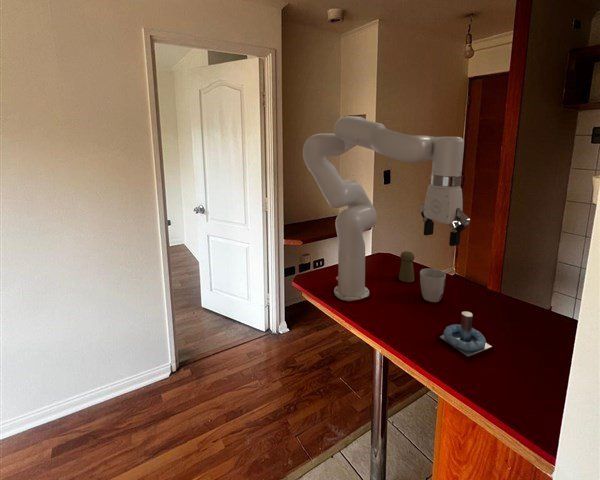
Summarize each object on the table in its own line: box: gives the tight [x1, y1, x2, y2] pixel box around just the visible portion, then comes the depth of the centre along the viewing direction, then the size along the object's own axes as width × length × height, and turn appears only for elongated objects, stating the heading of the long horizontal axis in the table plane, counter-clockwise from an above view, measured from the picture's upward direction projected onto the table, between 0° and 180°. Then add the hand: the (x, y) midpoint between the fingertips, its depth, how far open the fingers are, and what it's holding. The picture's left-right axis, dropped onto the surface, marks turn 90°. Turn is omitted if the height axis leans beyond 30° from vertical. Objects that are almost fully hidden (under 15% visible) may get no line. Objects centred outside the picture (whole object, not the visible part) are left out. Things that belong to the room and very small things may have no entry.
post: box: [439, 311, 493, 358], centre depth 87 cm, size 9×9×9 cm
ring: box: [442, 323, 487, 351], centre depth 88 cm, size 10×10×2 cm
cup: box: [419, 267, 447, 303], centre depth 110 cm, size 8×8×10 cm
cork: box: [398, 250, 416, 283], centre depth 127 cm, size 6×6×11 cm
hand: (440, 239), depth 94 cm, fingers open, 9 cm apart
